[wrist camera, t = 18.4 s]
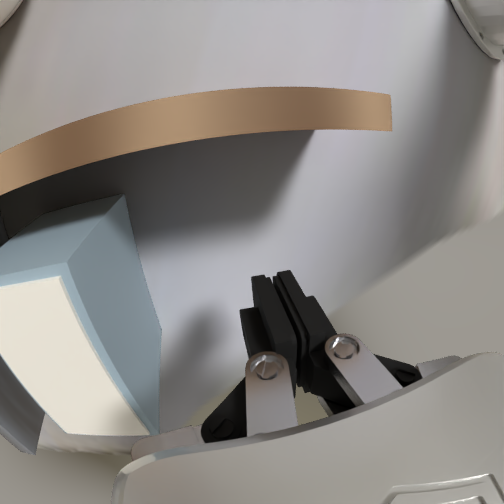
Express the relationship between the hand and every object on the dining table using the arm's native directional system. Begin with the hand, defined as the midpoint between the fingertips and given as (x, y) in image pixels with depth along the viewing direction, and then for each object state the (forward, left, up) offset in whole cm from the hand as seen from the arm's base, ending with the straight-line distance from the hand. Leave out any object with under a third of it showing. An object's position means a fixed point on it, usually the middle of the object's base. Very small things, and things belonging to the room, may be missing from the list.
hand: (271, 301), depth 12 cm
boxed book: (+10, 0, -6) cm, 12 cm away
